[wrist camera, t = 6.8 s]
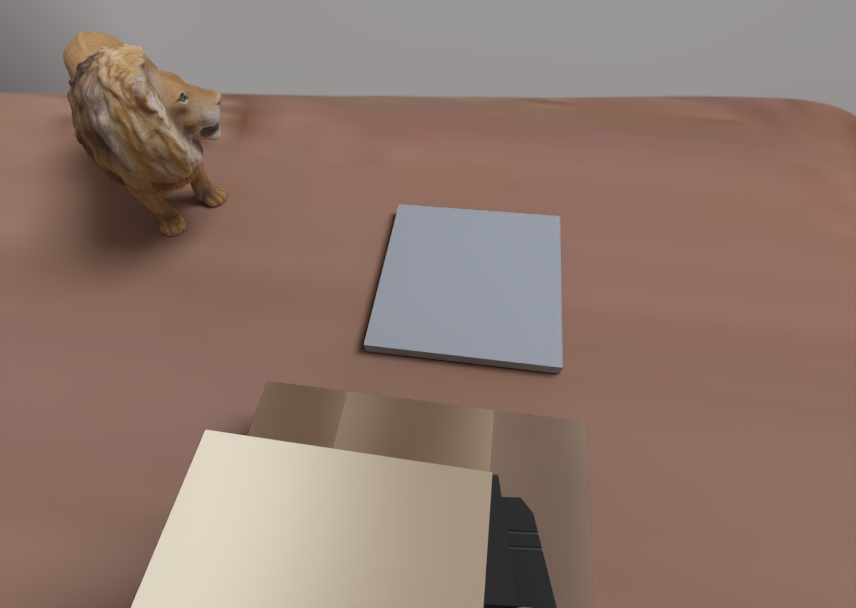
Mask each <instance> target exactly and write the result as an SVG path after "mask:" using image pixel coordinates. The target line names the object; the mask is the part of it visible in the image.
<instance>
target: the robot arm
mask: <svg viewBox="0 0 856 608" xmlns="http://www.w3.org/2000/svg"><path fill="white" fill-rule="evenodd" d="M483 608H557V607H556V603H555V599H554V595H553V590H552V586H551V582H550V578H549V574H548V570H547V566H546V562H545V558H544V554H543V551H542V546H541V542H540V538H539V535H538V530H537V526H536V522H535V518H534V514H533V512H532V511H531V510H530V508H529V507H528V506H527V505H526V503H525V502H524V501H523V500H522V498H521V497H502V495H501V489H500V482H499V476H498V474H492V488H491V503H490V517H489V532H488V547H487V562H486V577H485V591H484V606H483Z"/></svg>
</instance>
